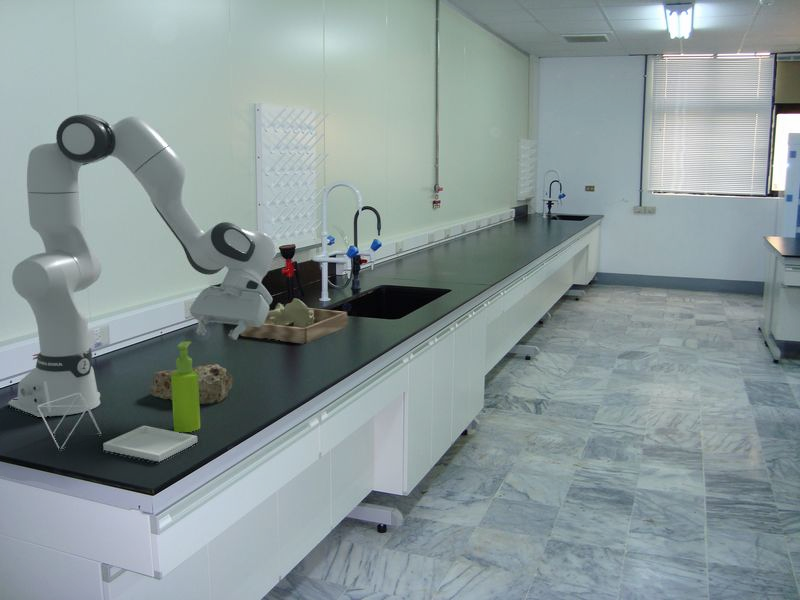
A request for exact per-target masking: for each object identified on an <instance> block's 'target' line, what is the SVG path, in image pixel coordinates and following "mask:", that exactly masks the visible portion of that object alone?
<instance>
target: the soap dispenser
mask: <svg viewBox="0 0 800 600" xmlns="http://www.w3.org/2000/svg"><path fill="white" fill-rule="evenodd" d="M191 344H192V341H181V342H179V343H178V345H177V350H178V349H179V356H178V357H177V358H176V360H175V364H176V370H177V371H176V372H174V373H172V374H171V382H172V400H171V402H172V417H173V418H172V419H173V420H172V421H173V431H174V432H182V433H183V432H190V433H193V432H192V431H194V432H196V431H195V430H197V431H199V430H200V429H201V411H200V410H201V409H200V407H201V406H200V403H199V384H198V372H197V371H193V370H192V368H193V359H192V357H191V356H189V354H188V347H189V345H191ZM198 429H199V430H198Z"/></svg>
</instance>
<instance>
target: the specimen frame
mask: <svg viewBox="0 0 800 600" xmlns="http://www.w3.org/2000/svg"><path fill="white" fill-rule="evenodd" d="M308 310H313V311H314V324H313V325H309V326H308V327H305V328H299V327H294V326H289V325H285V326H282V325H275V324H274V323H273V322H271V321H270V318H271V317H269V316H267V317H266V319H265V322H264V323H263V324H262V325H261V326H260V327H252V326H247V328H246V330H245V331H243V332H242V333H241V334H240V337H241V336H242V337H247V338H248V337H249V338H256V339H263V338H268V339H267V340H270V339H275V340H274V341H278V340H280V342H281V341H282V342H289V343H294V344H302V345H303V344H308V343H310V342H313V341H315V340H317V339H320V338H322V337H325V336H327V335H329V334H332V333H334V332H337V331H339V330H341V329H344V328H346V327H348V312H347V311H340V310H332V309H331V310H330V309H322V308H321V309H320V308H314V307H313V308H311V307H308Z"/></svg>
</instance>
